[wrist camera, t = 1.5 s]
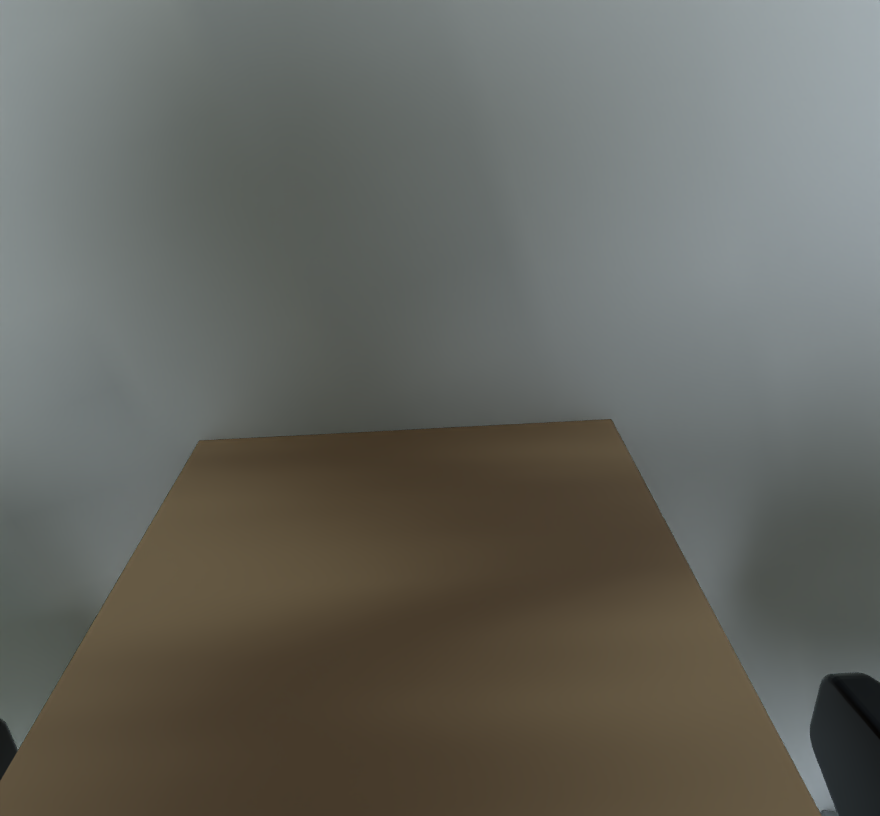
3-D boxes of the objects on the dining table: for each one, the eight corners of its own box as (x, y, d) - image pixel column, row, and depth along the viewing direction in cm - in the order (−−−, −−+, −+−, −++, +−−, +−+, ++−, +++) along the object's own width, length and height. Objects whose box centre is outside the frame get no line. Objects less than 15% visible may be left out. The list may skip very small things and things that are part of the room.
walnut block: (610, 417, 9) (908, 980, 3) (592, 712, 11) (756, 1343, 6) (200, 439, 9) (-147, 1035, 3) (262, 730, 11) (108, 1377, 6)
